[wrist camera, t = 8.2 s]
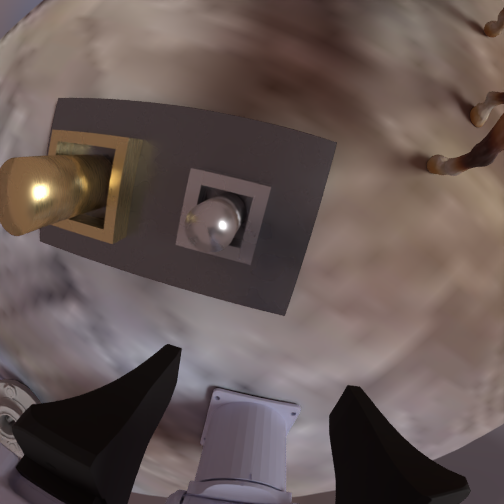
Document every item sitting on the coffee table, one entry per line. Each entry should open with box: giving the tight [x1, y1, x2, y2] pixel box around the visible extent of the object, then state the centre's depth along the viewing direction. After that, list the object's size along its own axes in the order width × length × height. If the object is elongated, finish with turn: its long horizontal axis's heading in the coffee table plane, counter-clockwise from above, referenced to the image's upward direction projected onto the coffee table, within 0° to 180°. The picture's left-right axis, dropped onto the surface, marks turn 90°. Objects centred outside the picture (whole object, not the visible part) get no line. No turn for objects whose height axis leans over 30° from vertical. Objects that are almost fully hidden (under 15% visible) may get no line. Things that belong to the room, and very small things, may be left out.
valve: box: [0, 379, 41, 452], centre depth 27 cm, size 10×20×15 cm
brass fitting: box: [0, 154, 113, 236], centre depth 15 cm, size 4×4×8 cm
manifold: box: [40, 98, 337, 316], centre depth 16 cm, size 12×21×6 cm, turn 76°
